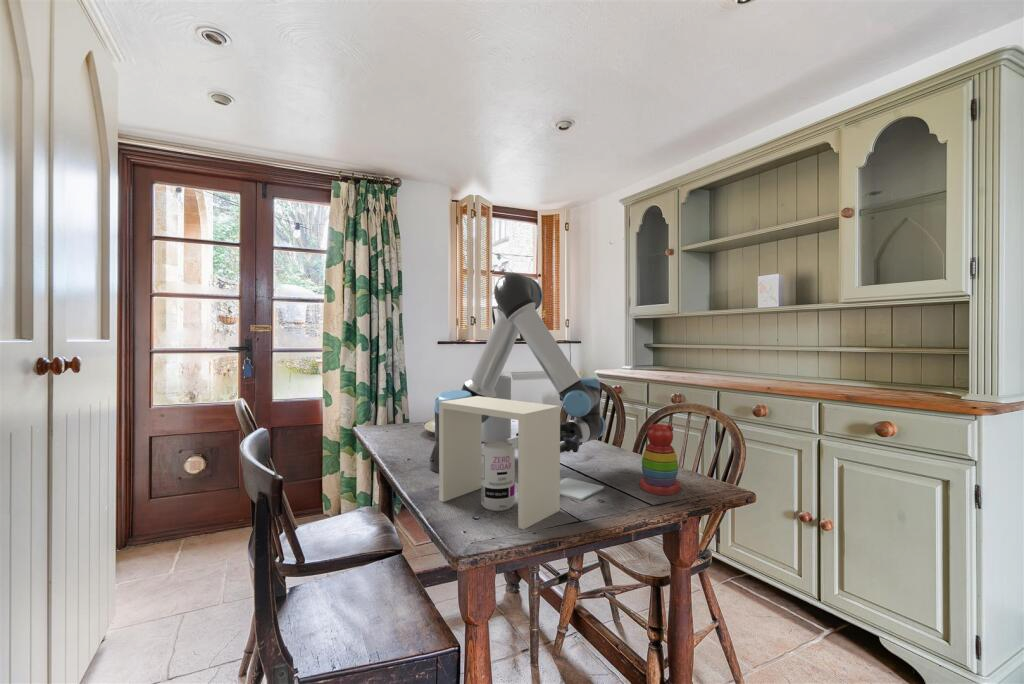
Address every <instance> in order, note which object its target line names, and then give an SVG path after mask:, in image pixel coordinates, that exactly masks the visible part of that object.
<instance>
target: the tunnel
mask: <svg viewBox="0 0 1024 684" xmlns="http://www.w3.org/2000/svg"><path fill="white" fill-rule="evenodd" d="M482 415H489V416H495V417H501V418H508V419H511V420H515V421H517V422H518V425H517V426H518V429H517V430H518V431H517V433H518V447H517V448H518V449H517V454H518V455H517V456H518V459H517V462H518V463H517V464H518V465H517V466H518V467H517V469H518V470H517V472H518V473H517V474H518V476H517V477H518V478H517V480H518V481H517V483H518V484H517V486H518V487H517V496H518V497H517V528H518V529H521V530H526V529H528V528H529V527H531V526H532V525H534V524H535V525H536V524H537V523H539V522H541V521H543V520H544V519H546V518H549V517H550V516H552V515H554V514H556V513H558V512H560V509H561V503H560V501H561V499H560V498H561V495H560V480H561V453H560V424H561V405H553V404H545V403H537V402H532V401H531V402H530V401H529V402H528V401H520V400H514V399H511V400H506V399H498V398H490V397H481V396H475V397H468V398H461V399H455V400H448V401H442V402H439V472H438V477H439V478H438V481H439V482H438V483H439V486H438V487H439V489H438V493H439V494H438V495H439V496H438V500H439V502H442V503H445V502H447V501H451V500H453V499H455V498H458V497H461V496H463V495H466V494H468V493H469V494H470V493H471V492H474V491H477V490H481V450H482V448H483V446H482V443H483V442H482Z"/></svg>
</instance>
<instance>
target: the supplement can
mask: <svg viewBox="0 0 1024 684" xmlns="http://www.w3.org/2000/svg"><path fill="white" fill-rule="evenodd" d="M515 452H516V451H515V448H513V447H512V444H511V443H508V442H500V441H496V442H488V443H484V444H483V446H482V450H481V488H480V499H481V500H480V502H481V505H482V506H483V507H484V508H485V509H486V510H488V511H493V512H495V511H496V512H500V511H502V512H503V511H507V510H509V509H511V508H512V507H513V506H514V504H515V502H516V501H515V497H516V496H515V490H516V489H515V487H516V486H515V481H516V478H515V477H516V476H515V473H516V470H515V469H516V468H515V466H516V465H515V462H516V460H515V457H516V456H515V454H516V453H515Z"/></svg>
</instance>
